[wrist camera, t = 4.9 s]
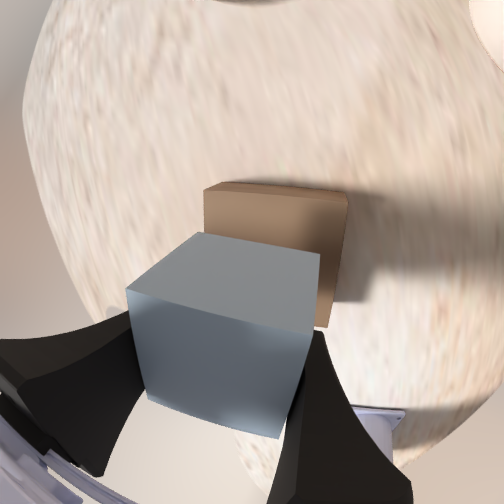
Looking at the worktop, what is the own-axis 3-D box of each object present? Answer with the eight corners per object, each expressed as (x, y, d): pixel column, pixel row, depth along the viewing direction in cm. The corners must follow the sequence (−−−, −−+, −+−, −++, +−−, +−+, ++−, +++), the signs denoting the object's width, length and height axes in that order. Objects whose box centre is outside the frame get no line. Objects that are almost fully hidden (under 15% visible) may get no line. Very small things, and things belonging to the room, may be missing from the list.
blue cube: (297, 351, 13) (278, 439, 8) (197, 327, 14) (148, 399, 9) (320, 254, 11) (312, 335, 6) (197, 231, 12) (125, 288, 7)
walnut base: (328, 299, 20) (327, 327, 17) (224, 285, 22) (207, 309, 19) (343, 191, 17) (348, 202, 14) (223, 181, 19) (203, 190, 16)
